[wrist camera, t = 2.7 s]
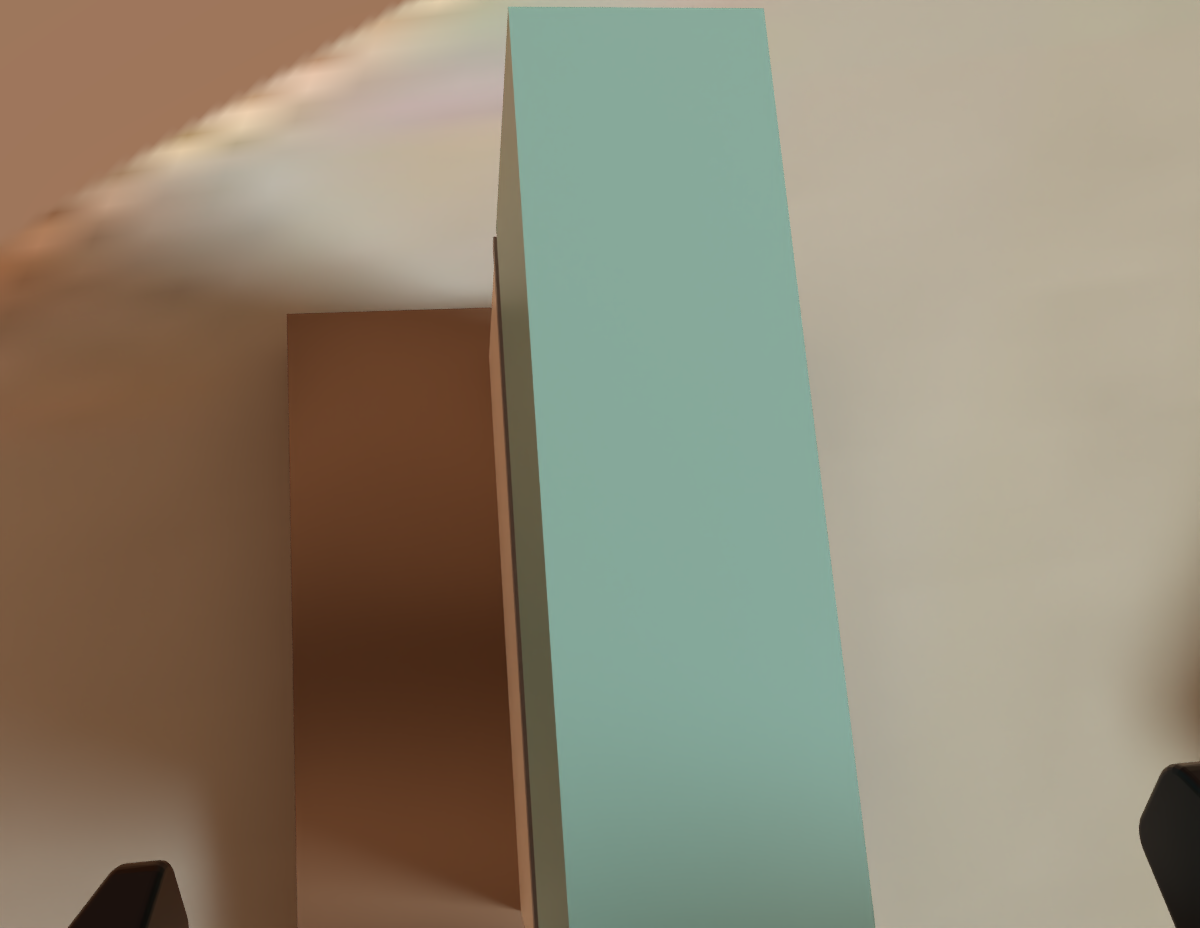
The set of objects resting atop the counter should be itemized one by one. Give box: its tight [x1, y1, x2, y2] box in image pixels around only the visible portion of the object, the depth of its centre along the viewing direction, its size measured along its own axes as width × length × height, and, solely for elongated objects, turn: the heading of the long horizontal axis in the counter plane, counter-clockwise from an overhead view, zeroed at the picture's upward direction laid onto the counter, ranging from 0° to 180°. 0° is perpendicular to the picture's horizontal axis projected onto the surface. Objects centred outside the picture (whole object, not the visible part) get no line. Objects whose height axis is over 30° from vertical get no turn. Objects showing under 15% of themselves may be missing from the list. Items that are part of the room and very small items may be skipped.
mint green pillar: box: [496, 7, 875, 928], centre depth 12 cm, size 10×2×5 cm, turn 4°
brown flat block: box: [287, 308, 525, 928], centre depth 20 cm, size 15×10×2 cm, turn 4°
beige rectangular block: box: [489, 237, 539, 928], centre depth 17 cm, size 10×3×6 cm, turn 4°
